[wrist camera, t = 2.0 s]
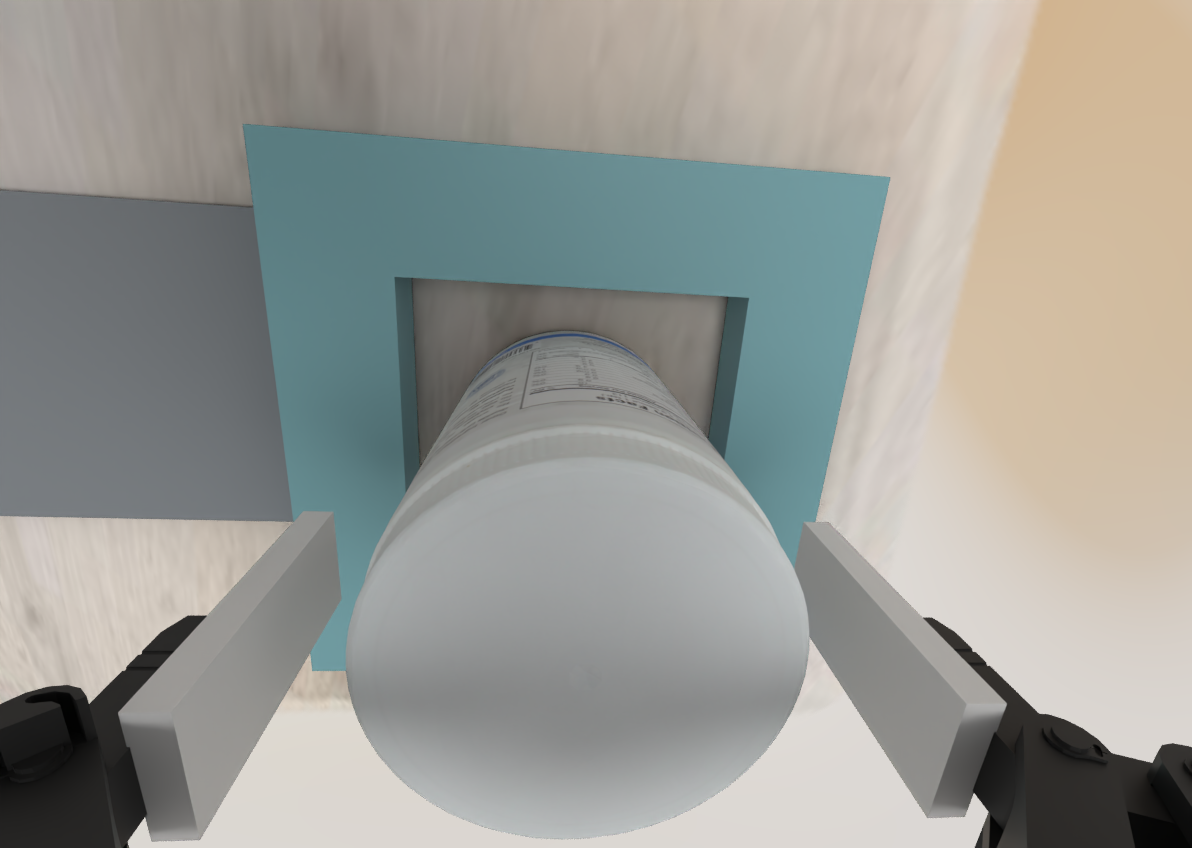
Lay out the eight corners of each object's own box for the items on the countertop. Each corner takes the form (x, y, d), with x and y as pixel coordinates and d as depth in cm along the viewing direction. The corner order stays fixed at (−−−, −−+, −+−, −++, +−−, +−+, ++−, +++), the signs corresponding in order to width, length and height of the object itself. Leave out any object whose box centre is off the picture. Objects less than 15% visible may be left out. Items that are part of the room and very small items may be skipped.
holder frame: (279, 136, 20) (242, 123, 18) (854, 183, 22) (890, 177, 20) (333, 632, 27) (312, 670, 25) (764, 633, 29) (782, 668, 27)
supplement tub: (637, 543, 27) (727, 875, 13) (441, 504, 25) (307, 832, 12) (699, 352, 24) (902, 519, 10) (482, 296, 22) (369, 400, 9)
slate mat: (-110, 182, 20) (-129, 181, 19) (273, 209, 21) (265, 208, 20) (-5, 508, 24) (-18, 515, 23) (308, 515, 25) (303, 521, 24)
